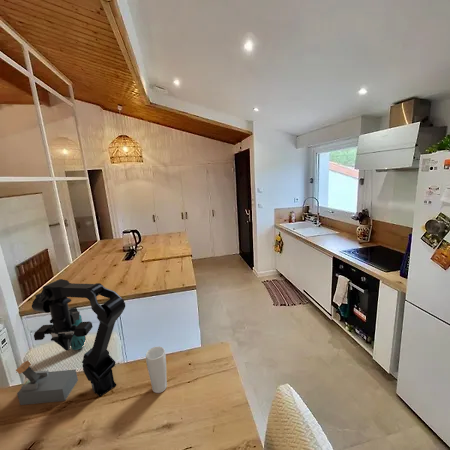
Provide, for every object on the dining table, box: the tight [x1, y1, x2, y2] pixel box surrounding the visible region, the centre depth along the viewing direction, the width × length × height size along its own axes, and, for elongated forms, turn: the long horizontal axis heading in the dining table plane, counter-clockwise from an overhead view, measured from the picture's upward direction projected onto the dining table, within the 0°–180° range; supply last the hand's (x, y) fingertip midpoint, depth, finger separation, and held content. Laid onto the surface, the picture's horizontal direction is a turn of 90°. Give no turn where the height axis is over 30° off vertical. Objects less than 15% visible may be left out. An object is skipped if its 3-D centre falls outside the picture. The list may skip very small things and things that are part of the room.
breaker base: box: [16, 368, 79, 406], centre depth 92 cm, size 16×9×6 cm, turn 93°
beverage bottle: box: [69, 307, 87, 351], centre depth 114 cm, size 6×7×20 cm
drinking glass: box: [145, 346, 168, 394], centre depth 91 cm, size 7×7×15 cm
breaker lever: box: [15, 360, 40, 384], centre depth 91 cm, size 2×3×8 cm
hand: (68, 349), depth 96 cm, fingers closed
